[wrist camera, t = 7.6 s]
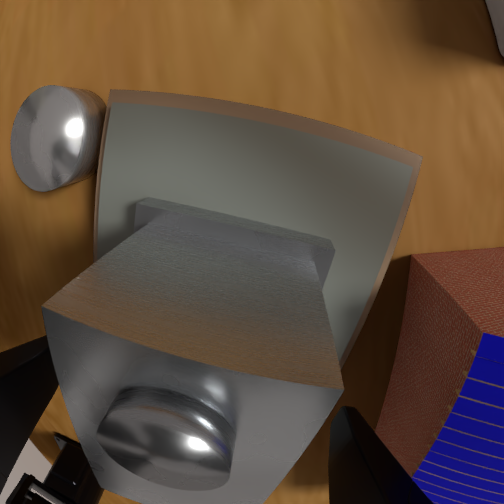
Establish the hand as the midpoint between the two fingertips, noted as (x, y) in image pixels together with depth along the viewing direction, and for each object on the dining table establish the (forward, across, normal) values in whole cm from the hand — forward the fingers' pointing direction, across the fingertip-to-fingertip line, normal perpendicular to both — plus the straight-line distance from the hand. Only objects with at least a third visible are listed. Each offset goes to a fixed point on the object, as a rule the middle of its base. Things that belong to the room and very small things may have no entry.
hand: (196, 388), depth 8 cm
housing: (+3, 0, 0) cm, 3 cm away
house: (+6, -16, +3) cm, 17 cm away
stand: (+6, 0, 0) cm, 6 cm away
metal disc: (+6, +8, -6) cm, 12 cm away
